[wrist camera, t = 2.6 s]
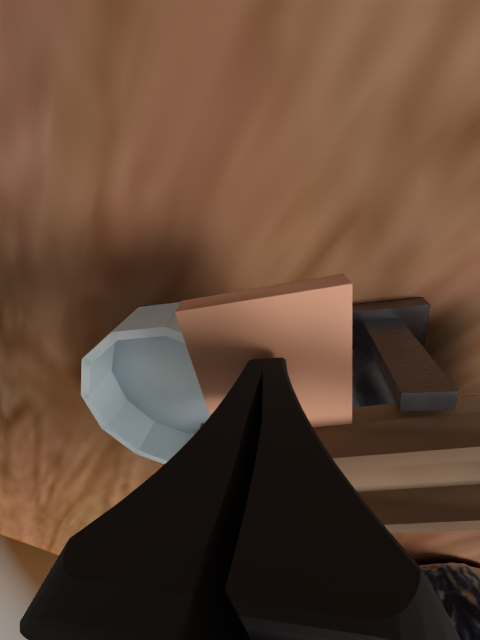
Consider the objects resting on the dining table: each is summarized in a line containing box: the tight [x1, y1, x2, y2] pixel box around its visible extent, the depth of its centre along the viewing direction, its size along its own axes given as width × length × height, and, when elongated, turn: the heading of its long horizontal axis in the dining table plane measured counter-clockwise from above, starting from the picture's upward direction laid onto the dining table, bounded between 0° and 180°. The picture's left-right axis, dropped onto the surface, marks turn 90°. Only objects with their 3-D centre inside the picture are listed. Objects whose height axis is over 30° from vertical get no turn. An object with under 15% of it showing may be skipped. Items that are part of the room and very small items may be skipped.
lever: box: [175, 274, 480, 533], centre depth 10 cm, size 12×20×4 cm, turn 101°
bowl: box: [81, 302, 210, 464], centre depth 20 cm, size 13×13×4 cm
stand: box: [352, 297, 459, 411], centre depth 15 cm, size 10×5×7 cm, turn 11°
